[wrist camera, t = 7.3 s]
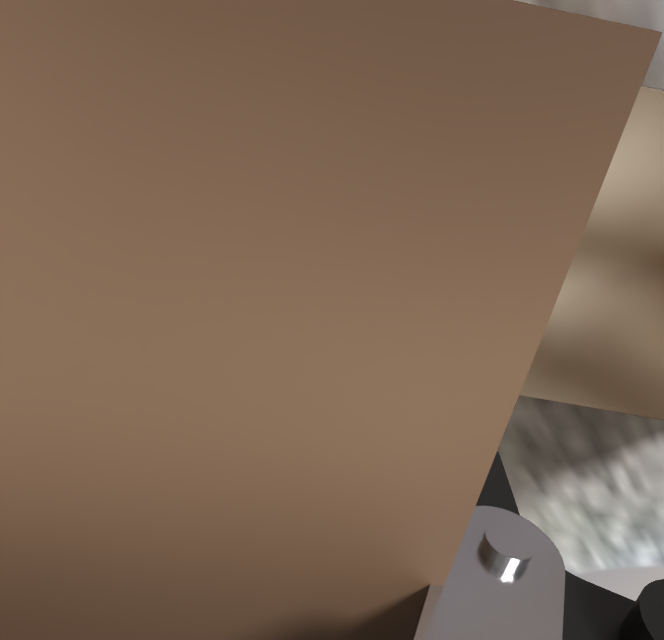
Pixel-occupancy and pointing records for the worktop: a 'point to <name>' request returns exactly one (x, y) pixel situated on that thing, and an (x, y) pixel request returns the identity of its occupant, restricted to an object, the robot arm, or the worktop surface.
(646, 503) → the worktop surface
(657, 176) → the board
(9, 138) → the brown rectangular block
